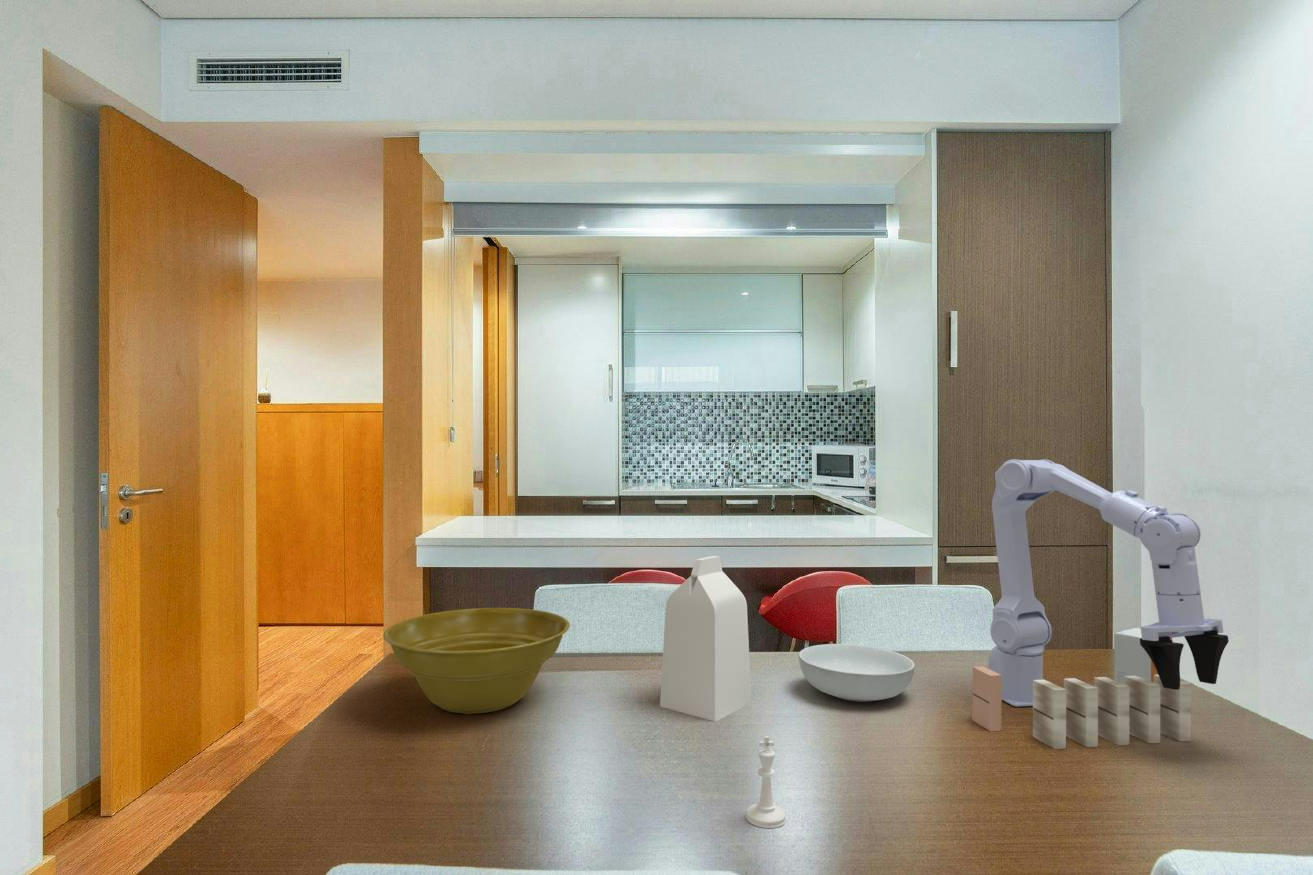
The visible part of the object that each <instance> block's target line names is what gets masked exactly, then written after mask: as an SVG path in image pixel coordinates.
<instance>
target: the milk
mask: <svg viewBox="0 0 1313 875" xmlns="http://www.w3.org/2000/svg"><path fill="white" fill-rule="evenodd" d="M721 562H722V561H721V557H720V556H719V555H711V556H705V557H700V558H695V559H694V563H693V566H692V570H691V573H690V576H689V577H688V578H686V579H685V581H683V582H682V584H680V586H678V587H677V588H676V589H675V590H674V591H673V592H672V593H671V594H670V595H669V597H668V599H667V600H666V603H665V609H664V610H665V613H664V630H663V643H662V644H663V645H662V646H663V647H662V664H661V665H662V667H661V683H660V697H659V698H660V699H659V700H660V701H659V707H660V708H665V709H668V710H671V711H675V712H679V713H683V714H686V715H690V716H693V717H697V718H699V719H700V718H701V719H703V720H708V721H712V722H717V721H719V720H721V719H723V718H725V717H727V716H729V715H731V714H732V713H735V712H736V711H738V710H740V709H741V708H745V707H746V706H748V705H749V704H752V687H751V682H752V681H751V666H750V663H751V662H750V661H751V660H750V644H749V643H750V642H749V641H750V640H749V624H748V623H749V622H748V604H747V599H746V597H745V596H744V594H743V592H742V591H741V590H740V588H738V587H737V585H736V584H735V583H734V582H733V581H732V580H731V579H730V578H729V576H727V574H726V573H725V572H724V571H723V567H722V563H721Z"/></svg>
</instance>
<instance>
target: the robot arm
mask: <svg viewBox="0 0 1313 875" xmlns="http://www.w3.org/2000/svg"><path fill="white" fill-rule="evenodd" d="M994 479H995V489H994V492H993V496H992V500H991V509H992V518H993V520H992V521H993V527H994V528H993V529H994V538H995V547H996V554H997V566H998V573H999V575H998V576H999V582H1000V583H999V584H1000V592H1001V597H1000V599H999V601H998V602H997V603H996V604H995V605H994V607H993V609H992V622H991V624H990V630H989V631H990V636H991V639H992V642H993V643H994V644H995V646H993V647H992V649H991V650H990V652H989V654H988V659H987V660H988V662H987V666H988V669H990V670H992V671H994V672H996V673H998V674H1000V675H1002V689H1001V701H1002V702H1003V701H1004V702H1006V703H1007V704H1009V705H1011V706H1013V707H1033V680H1044V678H1043V676H1044V674H1043V673H1044V671H1043V669H1044V666H1043V665H1044V664H1043V663H1044V662H1043V661H1044V659H1043V658H1044V656H1043V655H1044V652H1045V646H1046V645H1047V644H1048V643H1049V642H1050V641H1051V639H1052V635H1053V634H1052V633H1053V629H1052V624H1051V623H1050V622H1049V620H1048V617H1047V616H1046V610H1045V609H1046V608H1045V606H1044V605H1043V604H1042V603H1041V601H1039V599H1037V598H1036V596H1035V591H1034V590H1035V589H1034V583H1033V582H1034V581H1033V572H1032V571H1033V570H1032V565H1031V564H1032V563H1031V555H1030V554H1031V553H1030V544H1029V536H1028V528H1027V518H1026V512H1027V510H1028V509H1029V508H1030V507H1031V506H1032V505H1033V504H1034V503H1035V502H1036V501H1038V500H1039V499H1041V498H1043V497H1045V496H1047V495H1049V494H1051V493H1053V492H1055V491H1058V492H1060V493H1061V494H1064V495H1066V496H1069V497H1071V498H1073V499H1075V500H1077V501H1080V502H1082V503H1084V504H1086V505H1088V506H1091V507H1093V508H1095V509H1097V510H1099V512H1100V516H1101V518H1102V520H1103V521H1104V522H1106V523H1109V524H1110V525H1112V526H1114V527H1116V528H1118V529H1120V530H1121V531H1123V532H1126V533H1128V534H1129V535H1131V536H1133V537H1135V538H1137V539H1139V540H1140V543H1141V544H1142V545H1143V547H1144V548H1145V549H1146V550H1147V551H1148V553H1149V558H1150V561H1151V567H1152V577H1153V584H1154V592H1155V600H1156V608H1157V616H1158V621H1157V622H1155V623H1150V624H1148V625H1144V626H1141V625H1140V629H1141V634H1142V638H1140V645H1141V646H1142V647H1143V648H1144V650H1145V651H1146V652H1147V654H1148V655H1149V657H1150V658H1151V660H1152V662H1153V664H1154V666H1155V668H1156V670H1157V673H1158V675H1159V677H1160V680H1161V682H1162V685H1163V687H1164V688H1169V689H1174V690H1178V689H1180V680H1181V673H1180V672H1181V671H1180V668H1181V667H1180V666H1181V665H1180V664H1181V656H1182V653H1183V652H1182V651H1183V650H1184V649H1183V648H1184V646H1185V644H1183V643H1181V642H1173V638H1181V637H1184V640H1185V641H1186V643H1187V645H1188V647H1189V649H1190V651H1191V655H1192V658H1193V662H1194V666H1195V671H1196V675H1197V678H1198V680H1199V682H1200V683H1205V684H1210V685H1215V684H1217V679H1218V674H1219V673H1218V672H1219V668H1220V662H1221V658H1222V656H1223V653H1224V650H1225V648H1226V646H1227V645H1228V644H1229V636H1228V635H1227V634H1221V633H1224V627H1223V620H1222V619H1218V618H1217V619H1215V618H1205V617H1204V609H1203V600H1202V594H1201V585H1200V584H1201V583H1200V577H1199V570H1198V563H1197V556H1196V548H1195V547H1197V545H1198V544H1199V542H1200V541H1201V536H1202V535H1201V529H1200V527H1199V526H1200V525H1198V523H1197V522H1196V521H1195V520H1194V519H1193V518H1191V517H1190V516H1188V514H1185V513H1181V512H1179V513H1178V512H1177V513H1176V512H1175V513H1169V512H1168V511H1167V510H1168V507H1166V506H1163V505H1154V504H1153V503H1151V502H1149V501H1147V500H1144V499H1142V498H1140V497H1138V496H1139V495H1140V494H1139V493H1138V492H1136V491H1134V490H1126V491H1125V490H1122V489H1121V490H1116V491H1114V492H1110V491H1109V490H1107V489H1105V488H1103V487H1102V486H1100V485H1098V484H1096V483H1094V482H1092V481H1090V480H1089V479H1087V478H1085V477H1083V476H1081V475H1079V474H1077V473H1076V472H1074V471H1072V470H1070V469H1068V468H1067V467H1066V466H1064V465H1062V464H1060V463H1056V462H1054V461H1052V460H1050V459H1043V458H1042V459H1039V460H1038V459H1018V458H1017V459H1015V458H1014V459H1013V458H1012V459H1009V460H1006V461H1005V462H1004V463H1003V464H1002V465H1001V466H1000V467H999V468H998V469H997V470H996V471H995V472H994ZM1170 638H1172V640H1170Z"/></svg>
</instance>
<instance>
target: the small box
mask: <svg viewBox="0 0 1313 875" xmlns="http://www.w3.org/2000/svg"><path fill="white" fill-rule="evenodd" d="M1140 638H1142V634H1141V627H1133V628H1130V629H1124V630H1122V631H1118V632H1115V633H1114V642H1113V643H1114V644H1113V645H1114V647H1113V648H1114V649H1113V651H1114V652H1113V654H1114V655H1113V657H1114V658H1113V669H1114V670H1113V676H1114V678H1113V680H1114V681H1117V682H1119V683H1122V684H1124V676H1137V677H1140V678H1143V679H1145V680H1148V681H1151V682H1153V683H1154V675H1158V673H1157V670H1156V668H1155V666H1154V664H1153V662H1152V660H1151V658H1150V657H1149V655H1148V654H1147V652H1146V651H1145V650H1144V648H1143V647H1142V646H1141V645H1140ZM1170 640H1172V641H1173V638H1170Z"/></svg>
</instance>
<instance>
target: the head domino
mask: <svg viewBox="0 0 1313 875" xmlns="http://www.w3.org/2000/svg"><path fill="white" fill-rule="evenodd" d="M971 685H972V690H971V691H972V696H971V698H972V700H971V702H972V703H971V704H972V706H971V707H972V708H971V710H972V711H971V712H972V713H971V714H972V719H971V720H972V721H973V722H974V723H976V724H978V725H979V726H981V727H982V728H984V729H986V730H987V731H989V732H1000V731H1002V699H1001V689H1002V675H1000V674H998V673H996V672H994V671H992V670H990V669H988V668H987V667H985V666H972V684H971Z"/></svg>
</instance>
